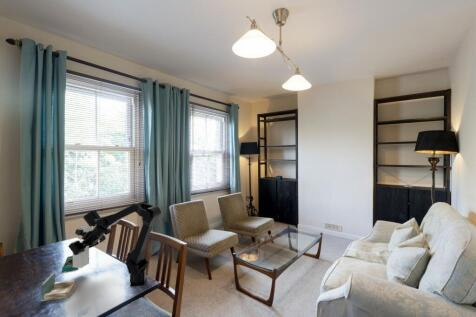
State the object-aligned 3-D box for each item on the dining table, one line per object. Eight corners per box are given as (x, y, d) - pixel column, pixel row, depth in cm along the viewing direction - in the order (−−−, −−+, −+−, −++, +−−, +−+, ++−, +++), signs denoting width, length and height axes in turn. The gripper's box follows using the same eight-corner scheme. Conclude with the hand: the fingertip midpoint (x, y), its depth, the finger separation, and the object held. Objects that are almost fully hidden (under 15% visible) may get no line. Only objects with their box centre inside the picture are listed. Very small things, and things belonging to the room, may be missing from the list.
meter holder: (76, 284, 113) (76, 270, 112) (68, 297, 103) (68, 281, 103) (52, 288, 110) (52, 273, 110) (41, 301, 100) (41, 284, 100)
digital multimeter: (61, 273, 124) (61, 267, 124) (67, 260, 137) (67, 256, 137) (78, 270, 127) (78, 264, 127) (81, 258, 141) (81, 253, 141)
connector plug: (89, 263, 124) (88, 239, 124) (81, 268, 120) (81, 243, 119) (80, 262, 125) (80, 238, 125) (72, 267, 120) (72, 242, 120)
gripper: (101, 216, 130) (83, 234, 132) (71, 227, 112) (52, 247, 114) (113, 231, 129) (96, 249, 131) (86, 244, 111) (66, 265, 113)
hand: (78, 252), depth 122 cm, fingers closed on connector plug, 5 cm apart
